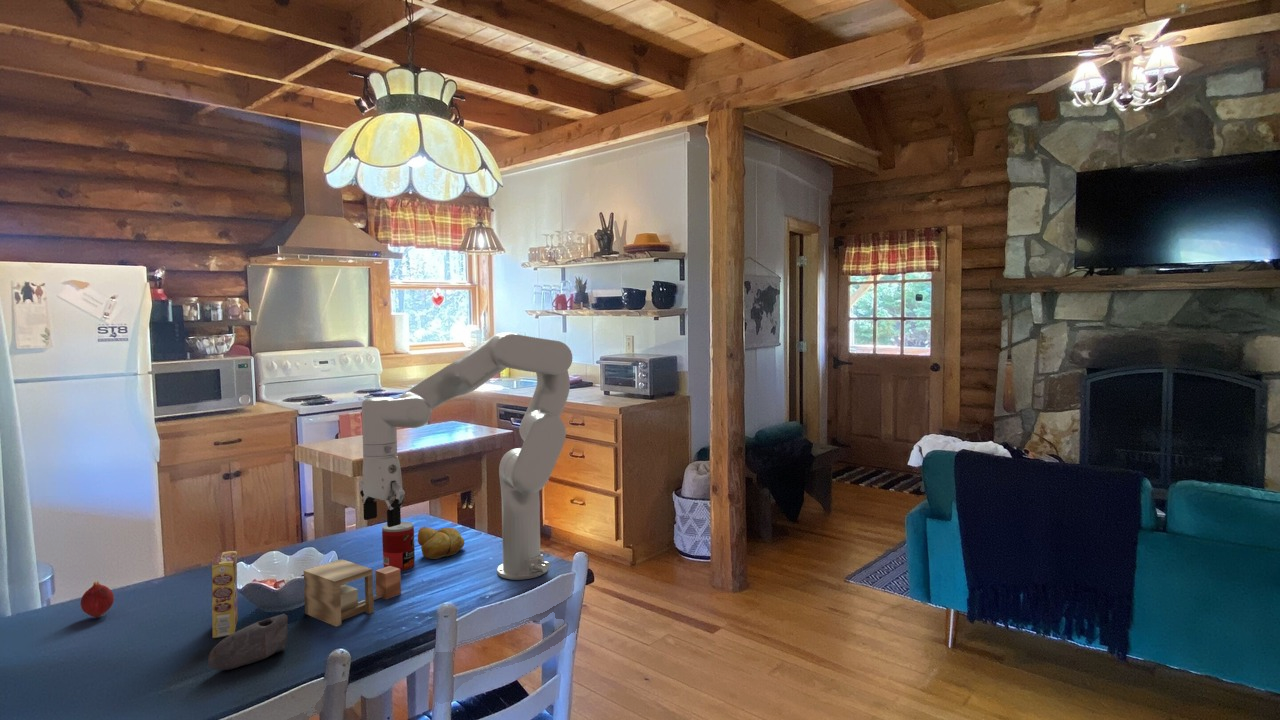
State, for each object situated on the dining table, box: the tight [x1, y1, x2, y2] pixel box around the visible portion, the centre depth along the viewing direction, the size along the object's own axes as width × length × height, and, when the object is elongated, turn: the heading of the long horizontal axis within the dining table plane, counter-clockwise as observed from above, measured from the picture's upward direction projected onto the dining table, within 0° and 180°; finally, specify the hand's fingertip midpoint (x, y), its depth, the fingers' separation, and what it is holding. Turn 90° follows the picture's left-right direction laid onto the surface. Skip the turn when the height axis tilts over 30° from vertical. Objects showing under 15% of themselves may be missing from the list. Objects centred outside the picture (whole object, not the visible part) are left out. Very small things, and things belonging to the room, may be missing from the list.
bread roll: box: [417, 526, 465, 560], centre depth 195 cm, size 13×10×8 cm
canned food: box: [381, 520, 416, 572], centre depth 185 cm, size 8×8×11 cm
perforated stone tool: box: [207, 613, 289, 671], centre depth 134 cm, size 15×5×7 cm, turn 140°
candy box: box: [211, 550, 239, 639], centre depth 148 cm, size 9×4×15 cm, turn 26°
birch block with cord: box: [340, 566, 402, 612], centre depth 161 cm, size 5×16×6 cm, turn 145°
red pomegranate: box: [80, 580, 115, 618], centre depth 154 cm, size 6×6×8 cm
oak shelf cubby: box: [303, 558, 375, 627], centre depth 155 cm, size 12×9×10 cm
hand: (382, 522), depth 166 cm, fingers open, 9 cm apart
